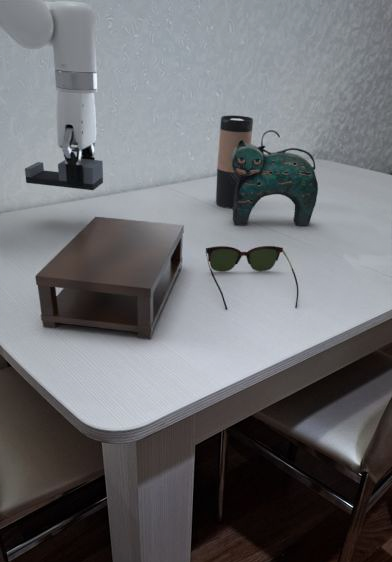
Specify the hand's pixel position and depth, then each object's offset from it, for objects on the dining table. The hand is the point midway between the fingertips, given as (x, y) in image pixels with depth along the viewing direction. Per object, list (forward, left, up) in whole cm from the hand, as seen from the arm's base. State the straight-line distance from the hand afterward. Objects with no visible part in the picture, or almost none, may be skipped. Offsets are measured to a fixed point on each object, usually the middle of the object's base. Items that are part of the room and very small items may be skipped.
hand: (81, 179), depth 103 cm
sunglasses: (+37, -22, -10) cm, 44 cm away
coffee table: (+16, -29, -10) cm, 34 cm away
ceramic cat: (+39, +14, -10) cm, 43 cm away
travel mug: (+29, +26, -10) cm, 40 cm away
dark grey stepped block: (-4, 0, -1) cm, 4 cm away
